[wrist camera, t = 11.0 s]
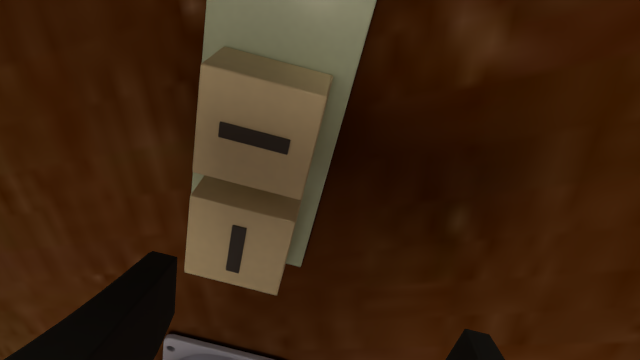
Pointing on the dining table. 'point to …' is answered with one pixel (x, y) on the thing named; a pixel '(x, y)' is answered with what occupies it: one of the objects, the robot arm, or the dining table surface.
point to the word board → (301, 44)
